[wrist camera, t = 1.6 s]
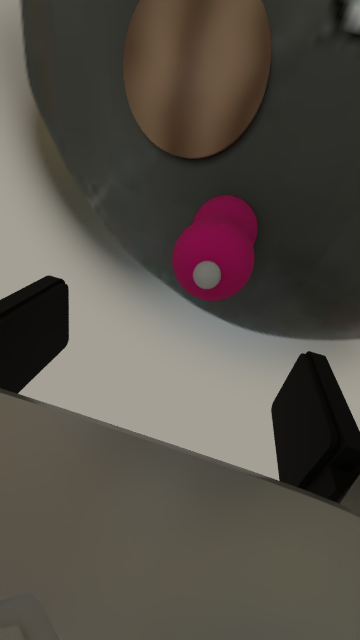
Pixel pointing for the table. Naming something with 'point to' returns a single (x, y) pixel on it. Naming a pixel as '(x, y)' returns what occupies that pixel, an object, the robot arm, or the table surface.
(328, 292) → the table surface
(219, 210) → the pepper mill
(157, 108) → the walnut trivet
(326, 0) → the table surface
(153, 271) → the table surface
